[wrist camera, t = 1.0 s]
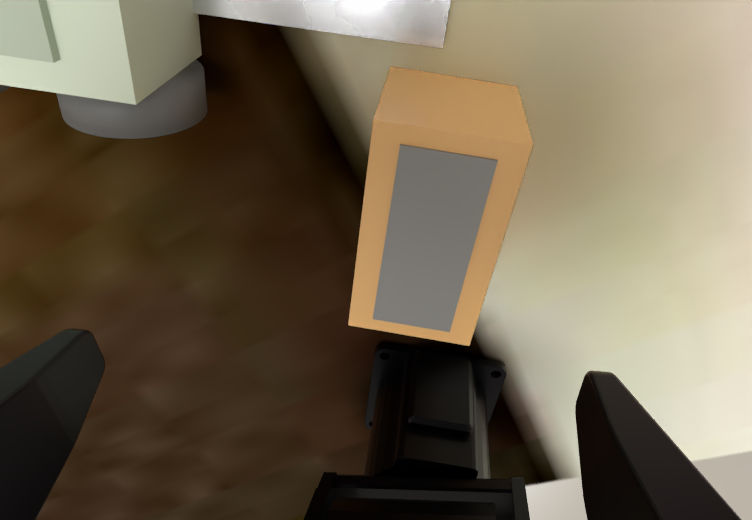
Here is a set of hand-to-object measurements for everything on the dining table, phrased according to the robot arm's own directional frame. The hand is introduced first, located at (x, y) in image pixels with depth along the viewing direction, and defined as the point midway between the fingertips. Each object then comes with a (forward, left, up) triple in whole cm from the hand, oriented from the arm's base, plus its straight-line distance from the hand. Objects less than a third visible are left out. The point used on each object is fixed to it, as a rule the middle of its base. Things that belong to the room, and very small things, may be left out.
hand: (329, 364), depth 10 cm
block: (-3, -2, -13) cm, 13 cm away
